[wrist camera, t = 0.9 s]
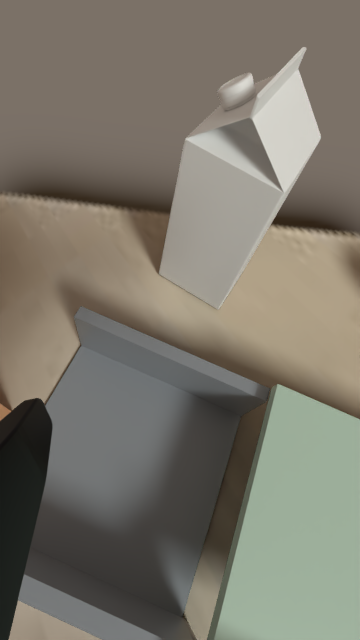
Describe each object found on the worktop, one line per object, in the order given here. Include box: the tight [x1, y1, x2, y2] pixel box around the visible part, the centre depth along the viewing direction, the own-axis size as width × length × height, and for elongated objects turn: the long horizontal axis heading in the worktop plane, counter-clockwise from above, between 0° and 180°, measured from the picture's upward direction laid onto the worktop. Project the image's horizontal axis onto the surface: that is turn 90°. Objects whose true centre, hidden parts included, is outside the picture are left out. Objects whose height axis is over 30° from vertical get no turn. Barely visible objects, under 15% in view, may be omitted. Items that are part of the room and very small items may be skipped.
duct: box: [18, 306, 270, 640], centre depth 22 cm, size 17×16×6 cm
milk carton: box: [159, 47, 321, 309], centre depth 26 cm, size 7×7×19 cm
